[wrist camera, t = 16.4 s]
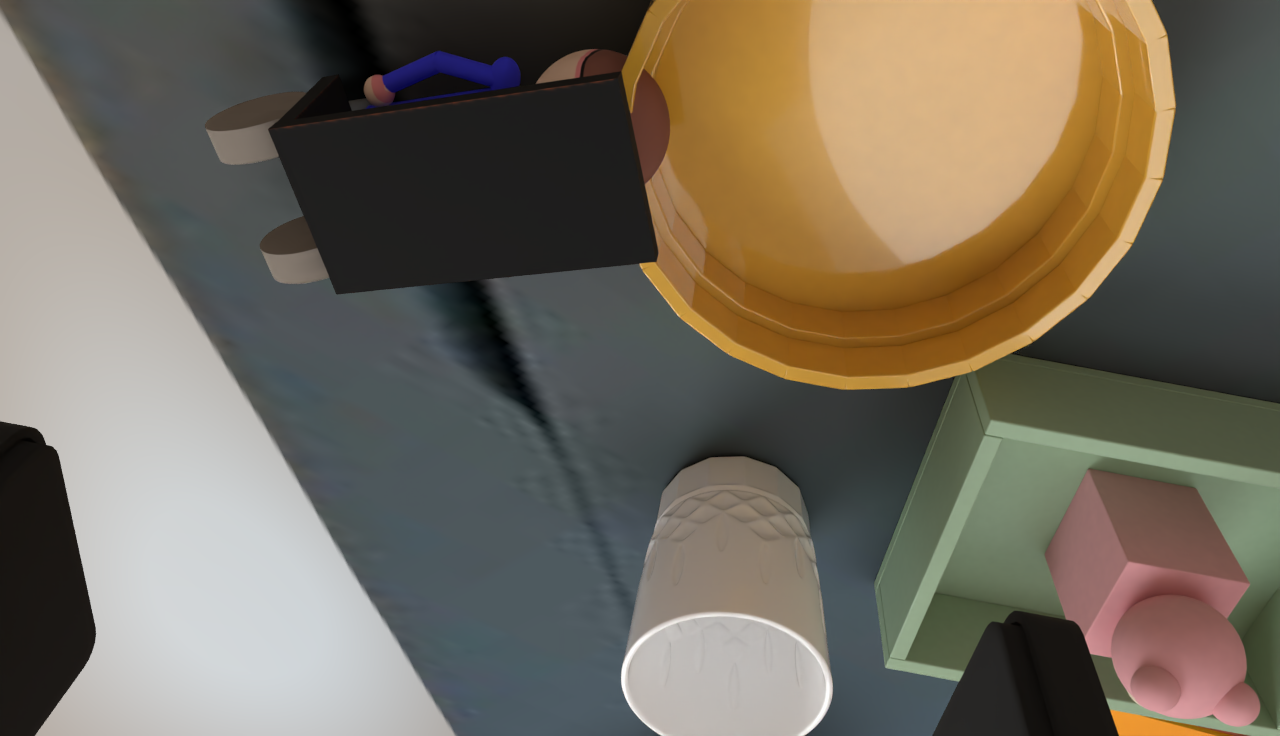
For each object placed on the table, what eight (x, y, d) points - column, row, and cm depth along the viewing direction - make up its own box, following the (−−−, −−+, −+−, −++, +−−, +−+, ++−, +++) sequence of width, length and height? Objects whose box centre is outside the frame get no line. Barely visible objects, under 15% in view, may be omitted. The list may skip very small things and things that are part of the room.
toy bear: (1087, 467, 42) (1169, 653, 33) (1196, 487, 42) (1305, 678, 33) (1040, 560, 45) (1103, 753, 36) (1142, 579, 45) (1228, 776, 36)
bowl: (669, -204, 31) (655, -193, 27) (1221, -103, 31) (1285, -79, 27) (598, 284, 40) (580, 341, 36) (1020, 362, 40) (1047, 428, 36)
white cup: (767, 416, 43) (767, 584, 34) (850, 540, 46) (869, 721, 38) (614, 484, 46) (580, 654, 37) (702, 596, 49) (689, 776, 41)
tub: (966, 345, 40) (991, 419, 36) (1398, 425, 40) (1473, 508, 36) (873, 583, 47) (884, 668, 43) (1237, 651, 47) (1284, 743, 43)
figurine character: (342, 223, 41) (698, 183, 37) (244, 317, 35) (656, 281, 31) (279, 62, 38) (662, -5, 33) (158, 134, 32) (608, 65, 27)
